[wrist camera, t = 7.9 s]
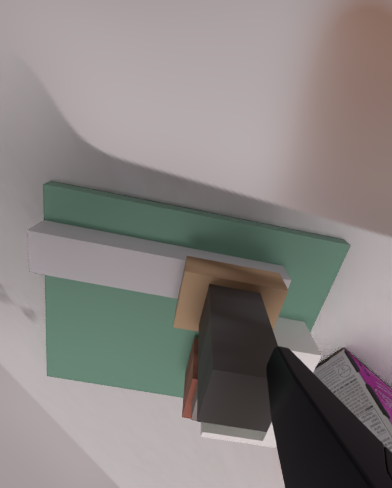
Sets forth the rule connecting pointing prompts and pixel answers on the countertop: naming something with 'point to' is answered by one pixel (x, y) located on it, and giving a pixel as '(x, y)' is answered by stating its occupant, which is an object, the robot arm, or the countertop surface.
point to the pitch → (159, 287)
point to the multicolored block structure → (228, 341)
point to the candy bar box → (359, 392)
